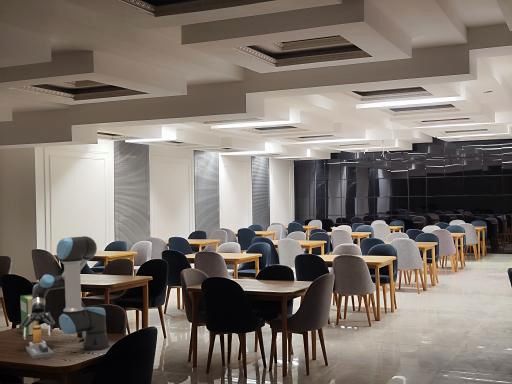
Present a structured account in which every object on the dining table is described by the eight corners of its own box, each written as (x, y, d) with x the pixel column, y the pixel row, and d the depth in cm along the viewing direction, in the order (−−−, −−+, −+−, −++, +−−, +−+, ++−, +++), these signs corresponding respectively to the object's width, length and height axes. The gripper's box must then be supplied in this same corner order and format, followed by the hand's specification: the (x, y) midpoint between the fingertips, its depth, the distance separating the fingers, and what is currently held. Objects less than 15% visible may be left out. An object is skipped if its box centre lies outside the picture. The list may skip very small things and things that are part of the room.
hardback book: (39, 334, 428) (37, 297, 429) (27, 336, 425) (26, 298, 425) (33, 330, 444) (31, 294, 444) (21, 331, 440) (20, 295, 440)
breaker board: (25, 350, 383) (25, 340, 384) (45, 347, 389) (45, 337, 389) (33, 359, 360) (32, 348, 361) (54, 356, 366) (53, 345, 366)
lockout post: (43, 346, 383) (42, 325, 383) (36, 347, 379) (35, 326, 379) (39, 345, 386) (38, 324, 386) (32, 347, 382) (31, 326, 382)
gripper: (60, 309, 400) (60, 338, 385) (17, 312, 395) (14, 342, 380) (59, 301, 395) (59, 331, 380) (15, 304, 390) (13, 335, 375)
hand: (36, 337), depth 380 cm, fingers open, 13 cm apart
